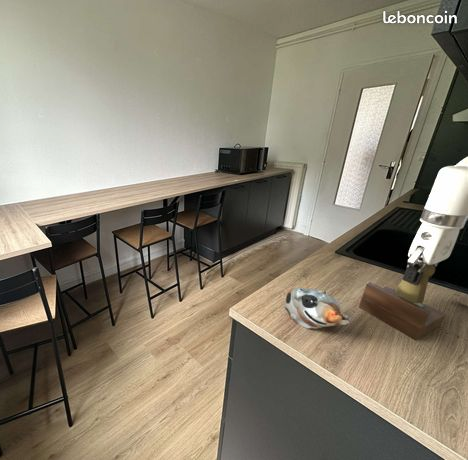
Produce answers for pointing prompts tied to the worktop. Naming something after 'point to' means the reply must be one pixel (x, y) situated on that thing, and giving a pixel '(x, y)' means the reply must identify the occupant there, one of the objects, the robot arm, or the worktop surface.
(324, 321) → the snowman head
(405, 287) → the cork
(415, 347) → the worktop surface
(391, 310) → the brown wooden box
